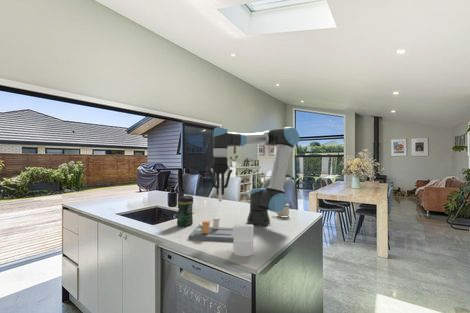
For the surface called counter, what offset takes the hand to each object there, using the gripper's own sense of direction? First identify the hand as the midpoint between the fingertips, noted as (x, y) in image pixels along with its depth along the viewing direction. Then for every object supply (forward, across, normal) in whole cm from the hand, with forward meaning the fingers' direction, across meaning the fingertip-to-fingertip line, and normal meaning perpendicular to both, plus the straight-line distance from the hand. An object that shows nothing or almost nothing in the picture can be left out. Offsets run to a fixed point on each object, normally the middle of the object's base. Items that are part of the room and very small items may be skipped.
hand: (220, 200), depth 126 cm
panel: (+20, +4, -4) cm, 20 cm away
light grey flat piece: (+16, +11, -9) cm, 21 cm away
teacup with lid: (+21, -37, -57) cm, 71 cm away
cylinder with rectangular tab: (+20, -13, +18) cm, 30 cm away
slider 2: (+17, +4, -8) cm, 19 cm away
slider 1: (+17, +8, +1) cm, 19 cm away
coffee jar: (+20, +26, -21) cm, 38 cm away
